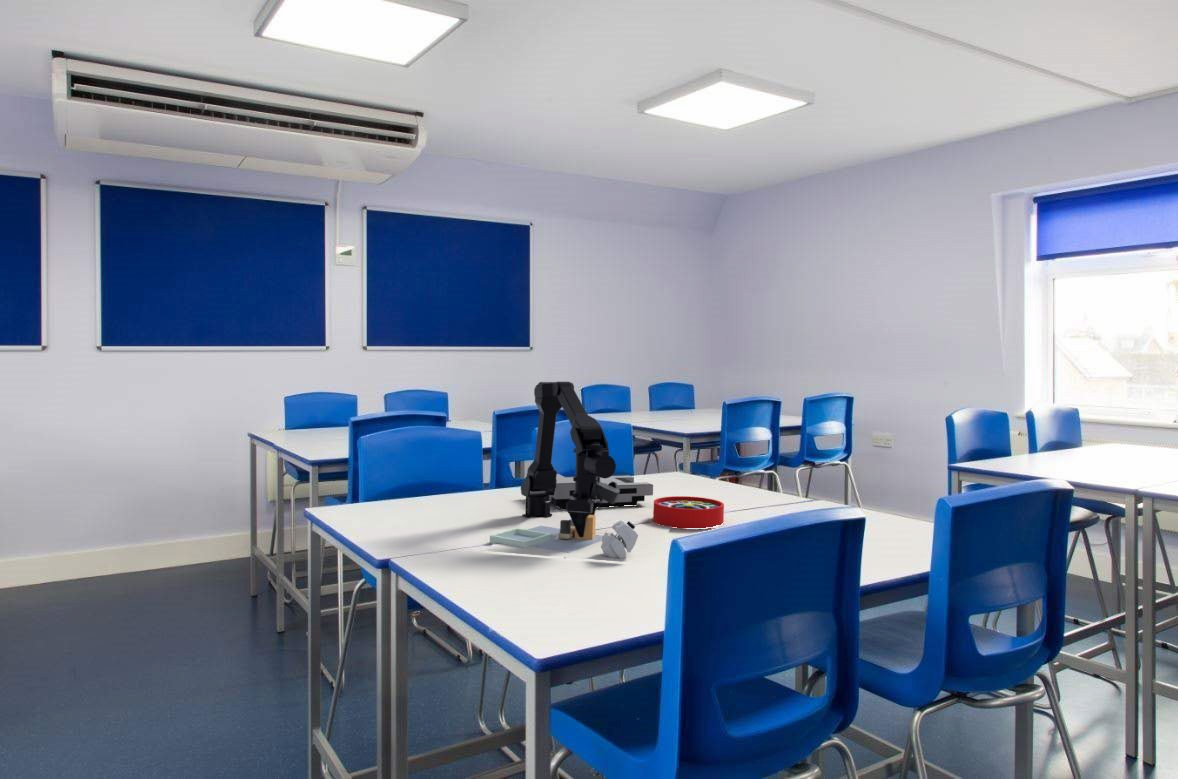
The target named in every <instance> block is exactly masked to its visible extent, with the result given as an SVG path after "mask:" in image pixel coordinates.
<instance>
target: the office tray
mask: <svg viewBox="0 0 1178 779" xmlns="http://www.w3.org/2000/svg"><path fill="white" fill-rule="evenodd" d="M573 477H575V476H572V475H571V476H563V475H562V474H559V473H558V472H557V476H556V480H557V482H556V488H555V493H554V495H549V501H550V503H552V504H554V505H555V507H557V508H558V509H560V510H561V511H562V510H564V511H565V510H566V503H567V502H568V501H569V500H570V499H571V498H573V493H574V492H575V481H573ZM612 481H613V482H616V483H617V487H618V489H620V492H619V495H618V497H617V500H616V502H615V503H614V504H611V503H608V502H607V501H605V500H603V501H602V503H601V504H600V505H599V506H598V507H608V508H610V507H609V506H624V505H637V506H638V502H645V497H646V496H654V484H652V483H650V482H647V481H642V482H641V481H640V482H635V477H634V476H633V475H630V474H615V475H614V474H613V475H612V476H611V477H609V478H600V482H602V483H604V484H605V483H606V484H607V485H608V484H609V483H610V482H612ZM597 501H600V499H597Z"/></svg>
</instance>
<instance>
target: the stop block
mask: <svg viewBox="0 0 1178 779" xmlns="http://www.w3.org/2000/svg"><path fill="white" fill-rule="evenodd" d="M596 520H597V515H596V514H595V515H589V516H588V517H587V521H586V527H585V532H584V537H579V536H578V533H577V531H576V528H575V538H579V539H593V538H594V537H595V535H596V525H597V524H596Z"/></svg>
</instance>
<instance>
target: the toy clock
mask: <svg viewBox="0 0 1178 779" xmlns="http://www.w3.org/2000/svg"><path fill="white" fill-rule="evenodd" d="M724 512H725V504H724V502H722V501H719V500H717V499H713V498H708V497H699V496H687V495H683V496H682V495H681V496H679V495H677V496H664V497H663V496H662V497H658V498H655V499H654V500H653V515H652V516H653V517H652V521H654V522H655V523H654V522H653V523H654V524H656V523H657V525H658V524H660V525H659V526H661V525H664V526H663V527H670V528H671V527H677V528H706V527H713V526H716V525H721V524H722V523H723V522H724V521H725V520H724V517H725V513H724ZM723 524H724V523H723Z"/></svg>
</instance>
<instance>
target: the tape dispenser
mask: <svg viewBox="0 0 1178 779" xmlns="http://www.w3.org/2000/svg"><path fill="white" fill-rule="evenodd" d="M611 528H612V529H613V530H614V531H615V533H616V534H614V533H613V532H611V533H609V532H607V531H605V532H604V534H603V535H602V536H603V537H602V541H601V545H600V549H601V550H602V553H603V556H604V557H610V558H619V559H627V553H631V552H632V550H633V549H634V547H635V545H636V543H637V540H638V537H639V534H638V532H637V531H635V528H636V525H635V524H634V523H633V522H631V521H630V520H628V521H627V522H625V521H623V520H622V519H621V520H619V521H616V522H614V523H613V525H612V526H611Z"/></svg>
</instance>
